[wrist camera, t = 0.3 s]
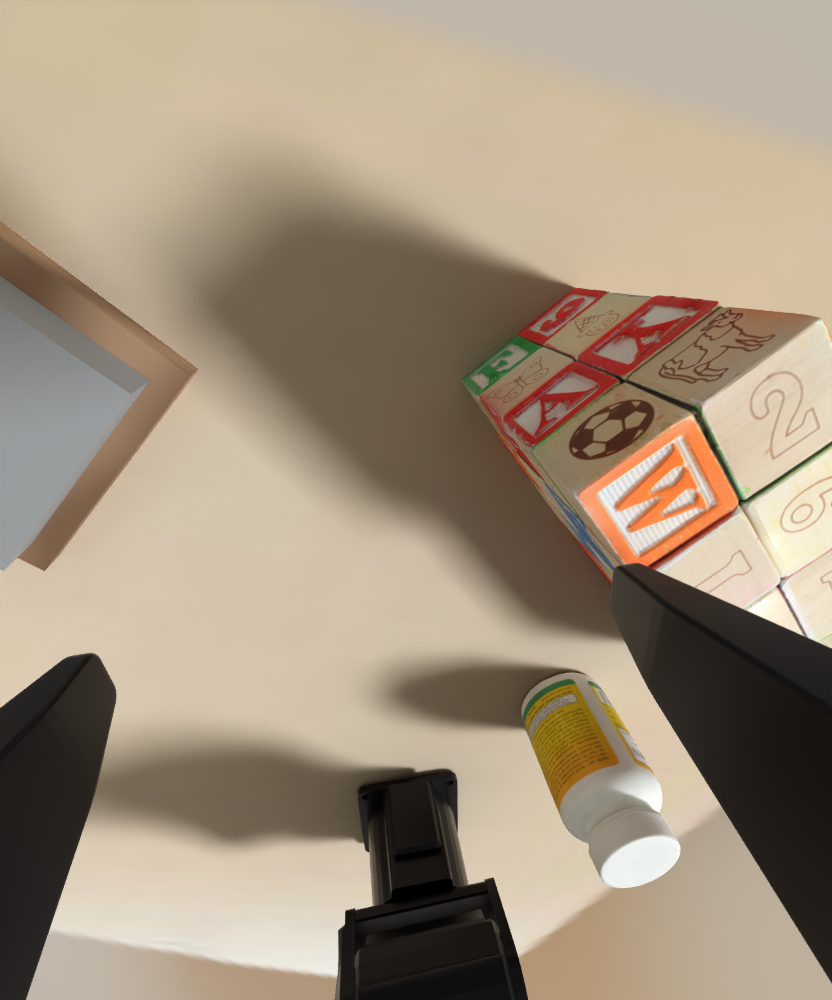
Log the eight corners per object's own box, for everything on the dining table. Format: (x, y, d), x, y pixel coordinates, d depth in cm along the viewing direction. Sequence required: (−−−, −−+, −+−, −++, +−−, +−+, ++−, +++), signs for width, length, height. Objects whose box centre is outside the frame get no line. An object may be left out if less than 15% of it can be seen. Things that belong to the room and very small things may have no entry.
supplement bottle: (612, 672, 31) (717, 827, 23) (580, 733, 34) (665, 895, 25) (534, 665, 30) (615, 826, 22) (507, 729, 32) (570, 898, 24)
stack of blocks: (741, 587, 30) (975, 776, 19) (651, 645, 31) (825, 856, 20) (573, 283, 21) (836, 310, 10) (455, 379, 22) (576, 498, 11)
